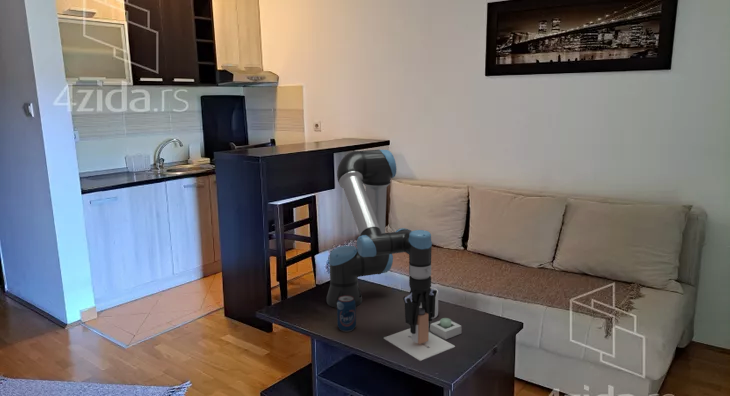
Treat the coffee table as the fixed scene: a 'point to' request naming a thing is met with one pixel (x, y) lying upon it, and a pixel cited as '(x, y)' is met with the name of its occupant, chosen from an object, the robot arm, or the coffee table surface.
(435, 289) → the mug
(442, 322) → the button
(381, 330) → the coffee table surface
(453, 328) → the button housing
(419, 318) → the block with dark dome
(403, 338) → the paper
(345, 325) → the soda can
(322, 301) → the coffee table surface
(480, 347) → the coffee table surface
